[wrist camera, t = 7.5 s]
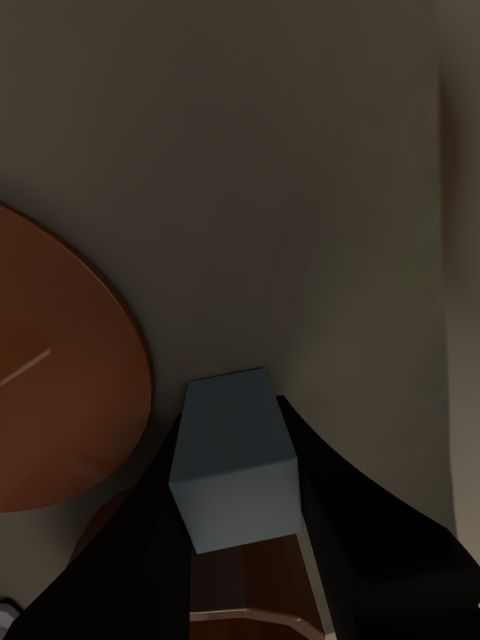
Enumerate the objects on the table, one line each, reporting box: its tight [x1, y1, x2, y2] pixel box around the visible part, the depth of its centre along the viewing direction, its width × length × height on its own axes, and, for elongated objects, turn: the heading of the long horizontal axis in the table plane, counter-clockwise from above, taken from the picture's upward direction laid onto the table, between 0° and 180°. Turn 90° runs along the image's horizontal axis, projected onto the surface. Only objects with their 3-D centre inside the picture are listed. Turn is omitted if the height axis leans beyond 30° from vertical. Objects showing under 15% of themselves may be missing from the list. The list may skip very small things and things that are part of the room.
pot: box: [66, 486, 325, 640], centre depth 13 cm, size 14×20×6 cm
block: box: [168, 368, 303, 554], centre depth 10 cm, size 4×4×5 cm
